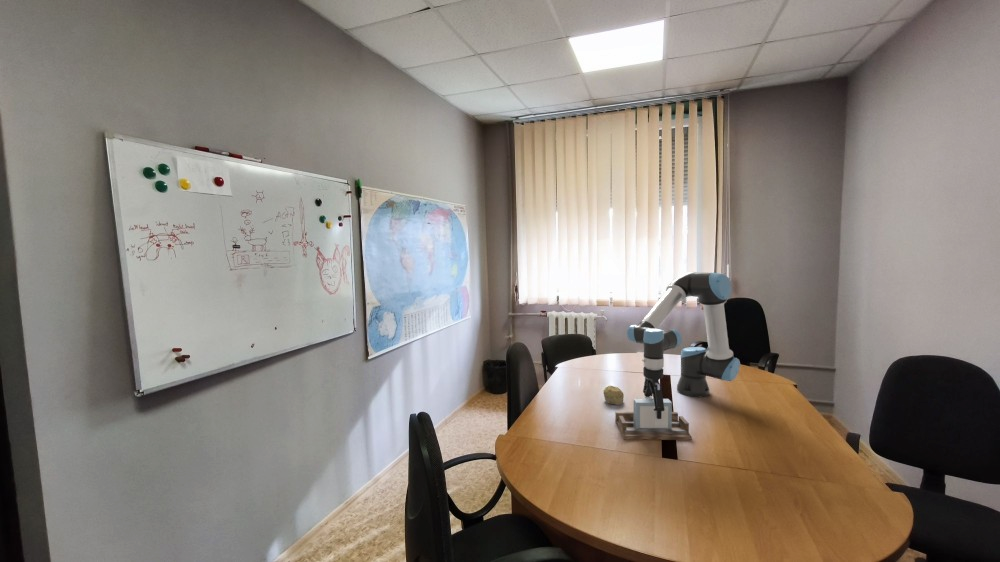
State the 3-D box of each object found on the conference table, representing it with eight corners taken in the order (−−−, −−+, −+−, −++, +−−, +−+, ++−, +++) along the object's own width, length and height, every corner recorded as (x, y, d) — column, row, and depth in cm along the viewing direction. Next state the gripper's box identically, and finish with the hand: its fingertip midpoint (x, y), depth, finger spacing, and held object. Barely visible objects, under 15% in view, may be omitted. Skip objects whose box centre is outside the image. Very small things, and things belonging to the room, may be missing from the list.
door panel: (668, 426, 161) (668, 398, 160) (671, 431, 157) (672, 402, 156) (633, 426, 162) (633, 398, 161) (636, 431, 158) (636, 402, 157)
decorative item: (623, 408, 193) (620, 388, 198) (626, 403, 184) (623, 382, 190) (603, 408, 193) (601, 388, 199) (606, 403, 185) (603, 382, 190)
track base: (676, 421, 168) (676, 409, 168) (691, 440, 152) (691, 426, 152) (615, 421, 170) (615, 409, 170) (624, 439, 155) (624, 426, 154)
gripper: (635, 358, 169) (635, 406, 171) (653, 377, 145) (652, 432, 147) (653, 358, 169) (653, 406, 171) (673, 377, 145) (673, 432, 146)
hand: (652, 418), depth 159 cm, fingers open, 12 cm apart
